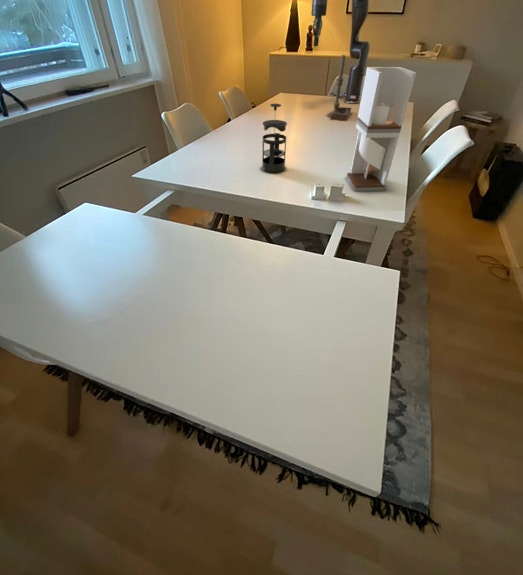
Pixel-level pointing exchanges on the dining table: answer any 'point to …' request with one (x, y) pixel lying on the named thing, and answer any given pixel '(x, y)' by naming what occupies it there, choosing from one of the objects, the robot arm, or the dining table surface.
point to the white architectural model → (379, 125)
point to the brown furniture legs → (342, 116)
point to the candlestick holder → (339, 83)
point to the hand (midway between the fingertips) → (315, 46)
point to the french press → (274, 146)
